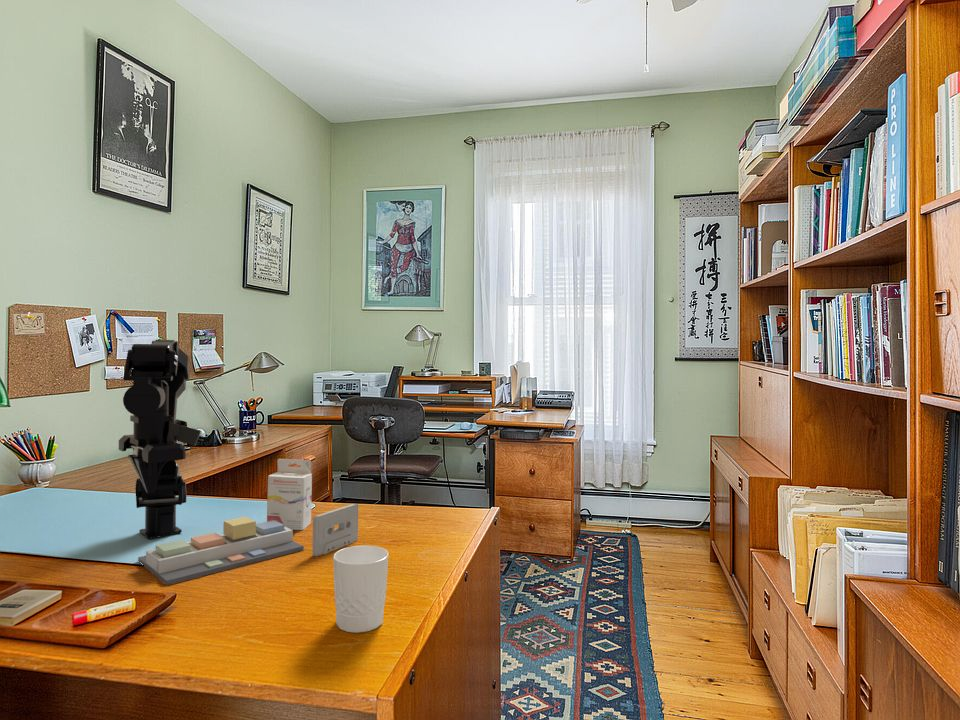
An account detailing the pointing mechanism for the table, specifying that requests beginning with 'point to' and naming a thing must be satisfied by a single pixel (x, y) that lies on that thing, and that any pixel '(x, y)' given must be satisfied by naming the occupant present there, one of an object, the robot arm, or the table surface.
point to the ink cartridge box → (290, 494)
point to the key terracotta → (207, 541)
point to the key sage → (172, 548)
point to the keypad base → (220, 556)
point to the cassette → (334, 539)
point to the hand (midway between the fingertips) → (150, 492)
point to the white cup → (360, 587)
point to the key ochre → (239, 528)
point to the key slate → (269, 527)
